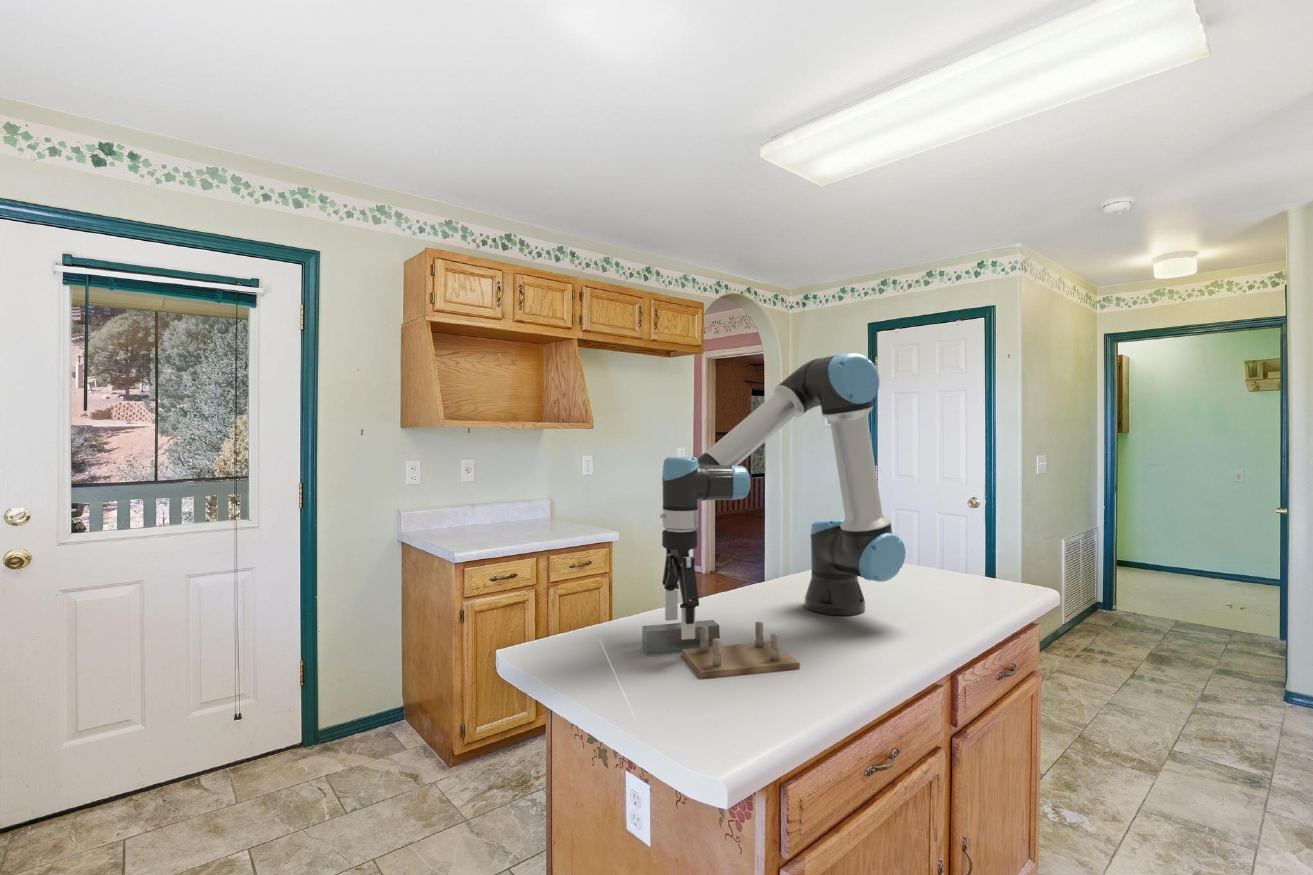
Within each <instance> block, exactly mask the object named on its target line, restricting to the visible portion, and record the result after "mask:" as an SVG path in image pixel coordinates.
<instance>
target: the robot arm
mask: <svg viewBox="0 0 1313 875" xmlns="http://www.w3.org/2000/svg"><path fill="white" fill-rule="evenodd" d="M879 389H880V375H879V372H878V368H877V367H876V366H875V364H874V362H872V361H871V359H869V358H867V356H865V355H862V354H861V353H853V352H851V353H847V352H846V353H839V354H837V355H832V356H831V355H830V356H826V357H819V358H815V359H812V360H809V361H807V362H806V363H804V364H803V365H801V366H800V367H799V368H797V369H795V371H793V372H792V373H791V374H789V375H788V376H787V377H786V378H785V379H784V380H782V381H781V382H780V383H779V384H778V385H776V387H775V388H774V392H773V394H772V395H771V396H770V397H768V398H767V400H765V401H764V402H763V403H762V404H761V405H759V406H758V407H757V408H756V409H755V410H753V411H752V412H751V413H749V415H748V416H746V417H745V418H744V419H743V420H742V421H741V422H739V423H738V424H737V425H736V426H734V427H733V428H732V429H731V430H730V431H728V433H726V434H725V435H724V436H723V437H722V438H721V439H719V440H718V441H716V443H714V444H713V445H712V446H711V447H710V448H709V449H707V450H706V451H705V452H704V453H702V454H701V455H700V456H699V457H694V456H669V457H666V458H665V459H664V460H663V465H662V475H661V480H662V513H660V515H659V517H660V519H662V527H663V528H664V529H663V530H662V531H661V532H662V533H661V534H662V535H661V536H662V538H661V539H662V540H661V542H662V543H661V545H662V547H663V548H664V549H665V550H666V551H665V552H666V553H665V554H666V555H665V562H664V569H663V578H662V582H661V583H662V586H664V590H665V591H664V621H666V622H667V621H678V619H679V618H678V615H679V613H678V610H679V608H680V609H681V612H680V613H681V616H680V618H681V619H680V620H681V621H680V623H681V639H682V640H684V639H695V621H696V608H697V607H699V606H700V602H699V600H700V599H699V593H698V592H699V591H698V586H697V576H696V570H695V568H696V567H695V565H696V564H695V561H696V559H695V556H690V550H695V549H697V547H698V538H699V537H698V536H699V535H698V533H699V532H698V531H697V530H696V529H697V528H698V527H699V509H698V508H699V506H698V505H699V501H703V502H704V501H734V500H743V499H745V498H746V497H747V496H748V494H749V492H750V490H751V477H750V473H749V471H748V469H747V468H746V467H745V466H742V465H739V464H741V463H742V462H743V461H744V460H745V459H747V458H748V457H749V456H750V455H752V453H754V452H755V451H756V450H757V449H758V448H759V447H761V446H762V445H763V444H764V443H766V442H767V441H768V440H769V439H770V438H771V437H772V436H773V435H774V434H776V433H777V432H778V431H779V430H781V429H782V428H783V427H784V426H785V425H786V424H787V423H788V422H789V421H791V420H792V419H794V418H796V417H797V418H799V417H802V416H803V415H804V414H805V413H807V412H808V411H810V410H812V409H814V408H817V407H820V409H821V415H822V417H824V418H826V419H827V420H828V421H829V424H830V429H831V435H832V436H831V437H832V441H833V447H834V454H835V460H836V461H835V462H836V467H837V472H838V473H837V474H838V479H839V480H838V481H839V487H840V493H841V499H842V506H843V511H844V512H843V513H844V518H839V519H835V518H834V519H821V520H815V521H814V522H812V524H811V528H810V549H811V550H810V551H811V552H810V555H811V556H810V558H811V560H810V563H811V567H810V568H811V575H810V576H811V577H810V581H809V583H808V587H807V590H806V593H805V596H804V607H805V608H806V610H809V611H811V612H815V613H817V614H822V615H829V616H830V615H831V616H855V615H859V614H862V613H864V612H865V610H866V601H865V597H864V594H863V591H862V587H861V586H860V582H859V578H863V579H864V580H866V581H873V582H879V583H880V582H881V583H882V582H888V581H890V580H891V579H893V578H895V577H896V576H897V575H899V572H900V569H901V568H903V566H904V564H905V559H906V547H905V543H904V542H903V540H902V539H901V538H900V537H899V535H896V534H894V533H893V529H892V524H891V519H890V518H888V517H887V516H885V514H883V510H882V503H881V501H882V500H881V496H880V489H879V484H878V483H879V482H878V476H877V469H876V462H875V457H874V451H873V450H874V449H873V444H872V439H871V438H872V437H871V431H870V424H869V419H868V418H869V417H868V415H869V414H870V412H871V411H872V409H873V408H874V406H873V405H874V404H873V399H874V398H875V397H876V396H877V394H878V393H877V391H879ZM858 577H859V578H858ZM679 589H680V595H681V600H682V603H680V606H679V608H678V605H679V603H678V602H679V600H678V599H679V597H678V596H679V593H678V592H679V591H678V590H679Z"/></svg>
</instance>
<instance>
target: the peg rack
mask: <svg viewBox="0 0 1313 875" xmlns="http://www.w3.org/2000/svg"><path fill="white" fill-rule="evenodd" d="M754 626H755V642H751V643H749V642H748V643H739V644H728V645H722V639H721V638H720V639H719V638H714V639H713V647H708V627H707V626H701V627H700V648H692V649H682V651H681V652H682V654H681V656H682V657H683V658H684V660H686V662H687V663H688V665H689V666H690V667H691V669H692V670H694V672H695V673H696V675H697V676H698V677H699V678H700V680H701V679H702V680H703V679H710V678H711V679H712V678H720V677H731V676H739V675H740V676H743V675H751V674H759V673H761V674H762V673H770V672H779V671H790V670H800V669H801V664H800V661H799V660H797V659H796V658H795V657H793V656H792V655H791V654H789V653H788V652H787V651H785V649H783V648H782V647H781V646H780V634H779V633H778V632H777V633H776V632H775V633H773V632H772V633H770V641H764V622H763V621H755V625H754Z"/></svg>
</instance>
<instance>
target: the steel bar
mask: <svg viewBox="0 0 1313 875" xmlns="http://www.w3.org/2000/svg"><path fill="white" fill-rule="evenodd" d="M701 626H707V627H708V647H713V639H714V638H719V639H721V638H720V635H721V634H720V624H719V623H718V622H716V621H715V620H714V619H707V620H695V639H684V640H682V639H681V622H674V623H664V624H661V623H660V624H651V625H650V624H649V625H642V626H641V632H642V633H641V635H642V636H641V637H642V638H641V640H642V644H641V645H642V647H641V648H642V650H643V652H644V653H645V654H646V655H655V654H665V653H666V654H667V653H675V652H676V653H677V652H678V653H679V652H682V649H692V648H700V627H701Z"/></svg>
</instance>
